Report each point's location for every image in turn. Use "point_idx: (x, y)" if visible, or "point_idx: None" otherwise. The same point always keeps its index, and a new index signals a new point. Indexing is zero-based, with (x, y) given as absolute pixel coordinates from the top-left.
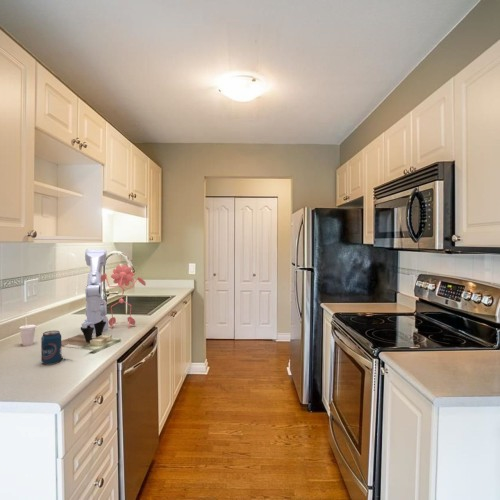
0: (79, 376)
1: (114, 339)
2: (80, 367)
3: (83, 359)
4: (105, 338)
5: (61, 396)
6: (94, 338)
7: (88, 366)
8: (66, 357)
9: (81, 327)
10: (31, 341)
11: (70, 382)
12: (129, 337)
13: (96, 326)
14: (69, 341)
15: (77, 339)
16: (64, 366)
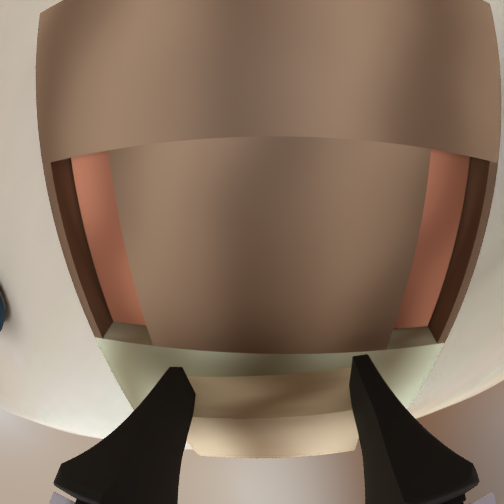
0: (36, 414)
1: None
2: (49, 402)
3: (78, 389)
4: (266, 457)
5: (5, 408)
6: (231, 420)
7: (69, 417)
8: (32, 311)
9: (62, 489)
10: None
11: (18, 407)
12: (471, 386)
13: (381, 474)
14: (197, 60)
15: (320, 90)
16: (14, 359)
